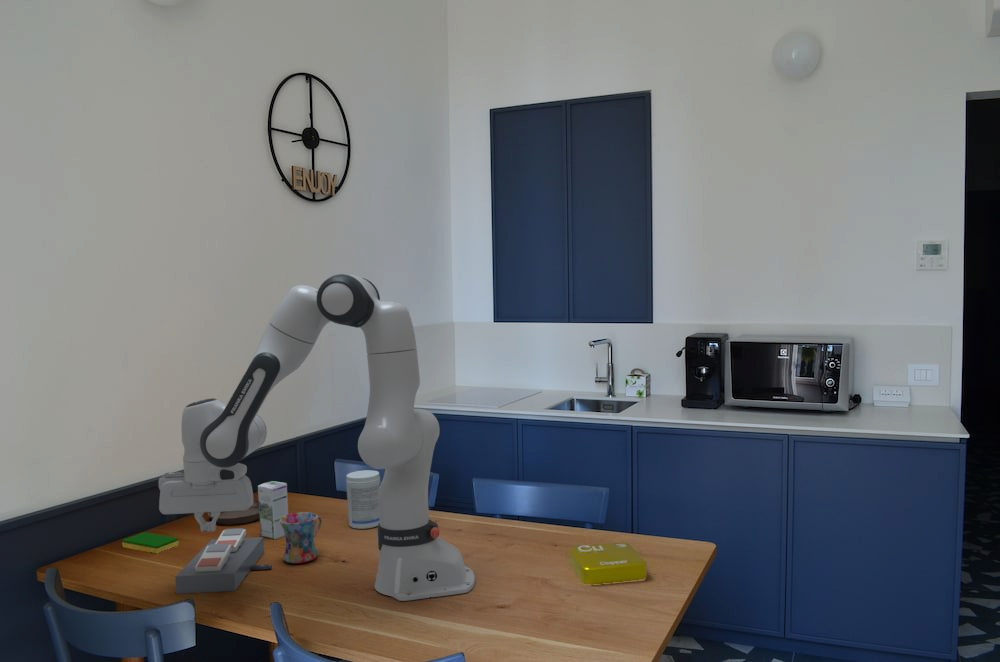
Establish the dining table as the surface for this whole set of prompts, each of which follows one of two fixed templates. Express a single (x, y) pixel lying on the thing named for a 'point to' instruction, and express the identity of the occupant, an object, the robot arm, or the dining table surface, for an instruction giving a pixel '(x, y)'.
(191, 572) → the switch panel
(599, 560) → the element tile
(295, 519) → the mug
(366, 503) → the supplement tub
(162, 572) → the dining table surface
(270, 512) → the syrup box
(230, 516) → the plant saucer
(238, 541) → the rocker
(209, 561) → the rocker
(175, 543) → the dish sponge
